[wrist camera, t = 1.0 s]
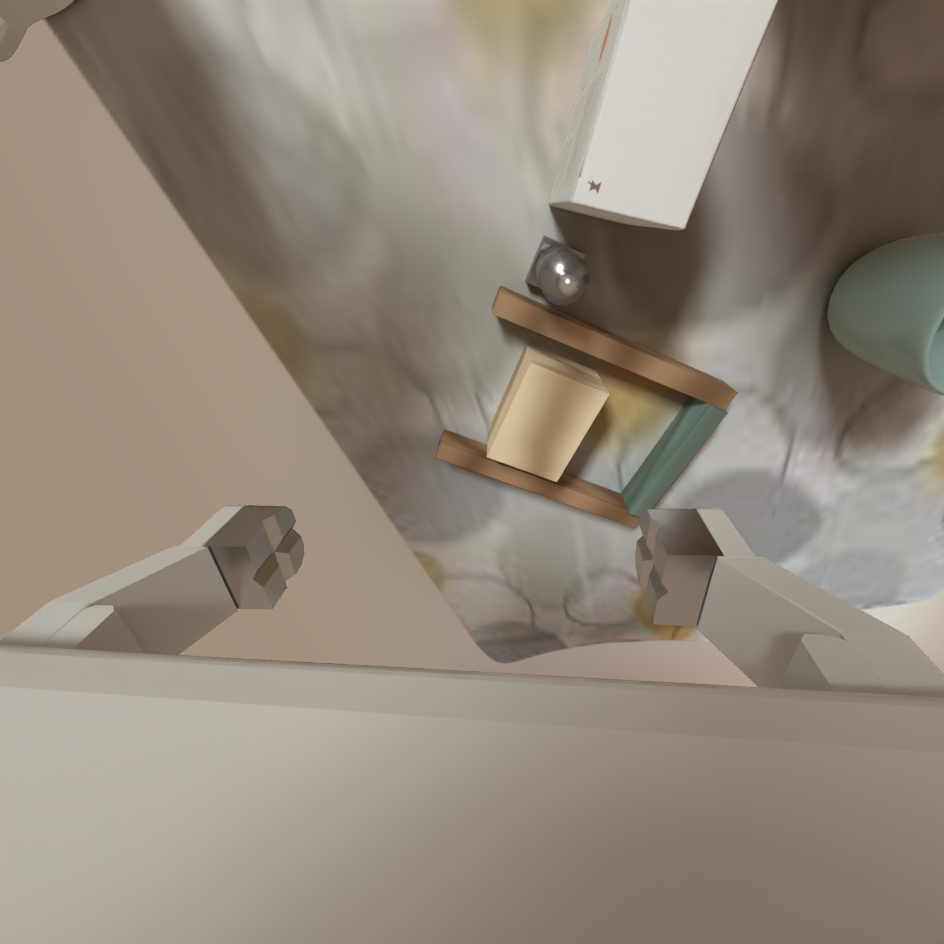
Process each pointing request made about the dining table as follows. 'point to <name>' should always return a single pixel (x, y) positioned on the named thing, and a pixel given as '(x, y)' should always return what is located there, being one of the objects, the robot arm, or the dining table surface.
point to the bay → (702, 388)
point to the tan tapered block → (544, 413)
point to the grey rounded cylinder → (559, 272)
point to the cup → (895, 310)
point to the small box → (656, 107)
